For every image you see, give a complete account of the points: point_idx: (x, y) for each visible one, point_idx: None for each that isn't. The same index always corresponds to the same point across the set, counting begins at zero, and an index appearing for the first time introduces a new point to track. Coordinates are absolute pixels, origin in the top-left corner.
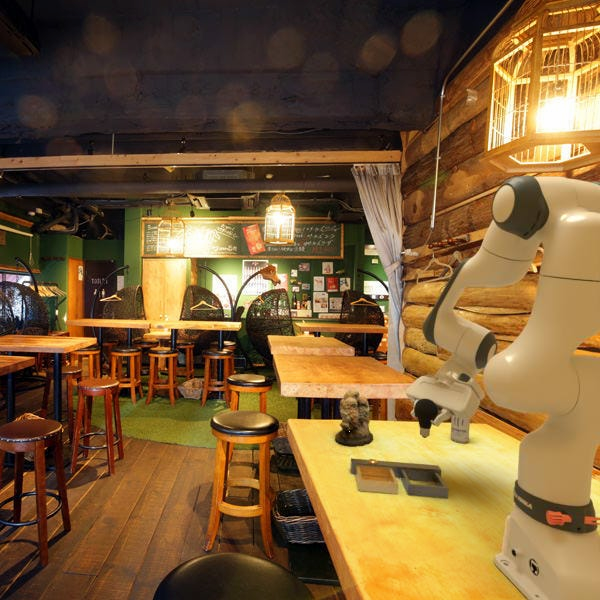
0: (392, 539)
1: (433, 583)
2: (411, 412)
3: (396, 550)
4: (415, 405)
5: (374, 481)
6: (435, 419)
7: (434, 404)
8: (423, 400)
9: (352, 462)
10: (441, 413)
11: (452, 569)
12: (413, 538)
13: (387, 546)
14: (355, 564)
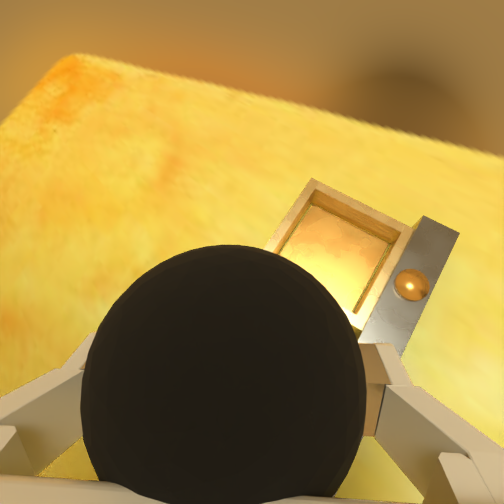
0: (124, 145)
1: (18, 131)
2: (385, 343)
3: (100, 132)
4: (290, 261)
5: (292, 211)
6: (90, 345)
7: (88, 422)
8: (202, 294)
9: (425, 219)
10: (17, 405)
11: (12, 177)
12: (104, 179)
13: (116, 126)
14: (114, 67)
